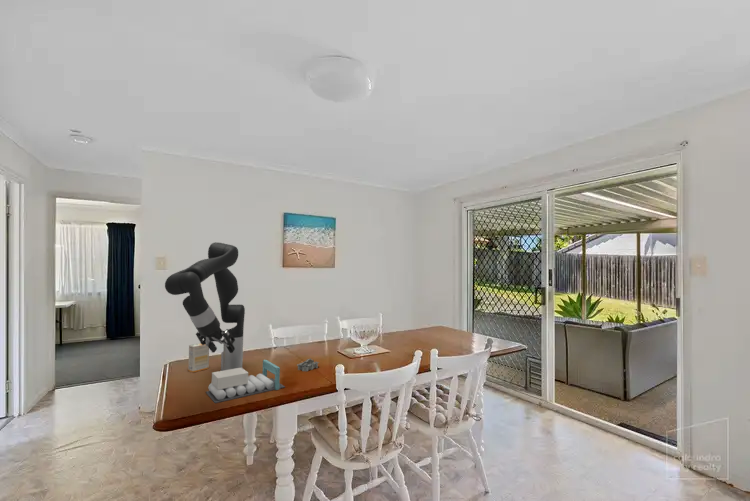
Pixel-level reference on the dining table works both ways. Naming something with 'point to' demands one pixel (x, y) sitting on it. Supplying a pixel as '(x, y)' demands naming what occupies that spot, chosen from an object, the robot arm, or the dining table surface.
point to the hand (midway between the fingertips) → (223, 351)
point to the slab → (229, 378)
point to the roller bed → (243, 389)
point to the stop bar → (272, 371)
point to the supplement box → (198, 357)
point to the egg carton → (307, 365)
